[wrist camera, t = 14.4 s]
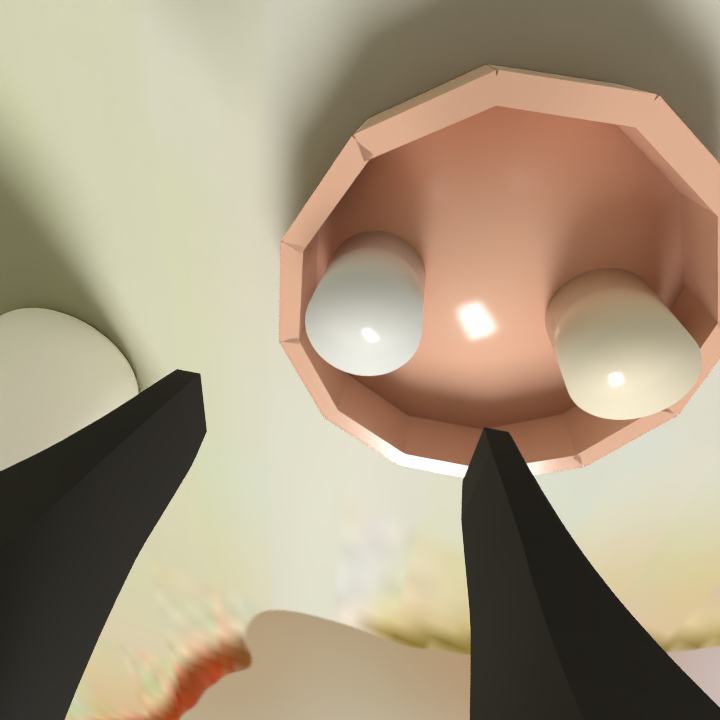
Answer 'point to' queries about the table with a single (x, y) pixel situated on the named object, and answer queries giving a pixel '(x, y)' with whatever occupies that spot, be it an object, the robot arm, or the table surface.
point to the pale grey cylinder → (368, 305)
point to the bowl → (507, 257)
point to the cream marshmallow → (620, 346)
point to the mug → (54, 380)
